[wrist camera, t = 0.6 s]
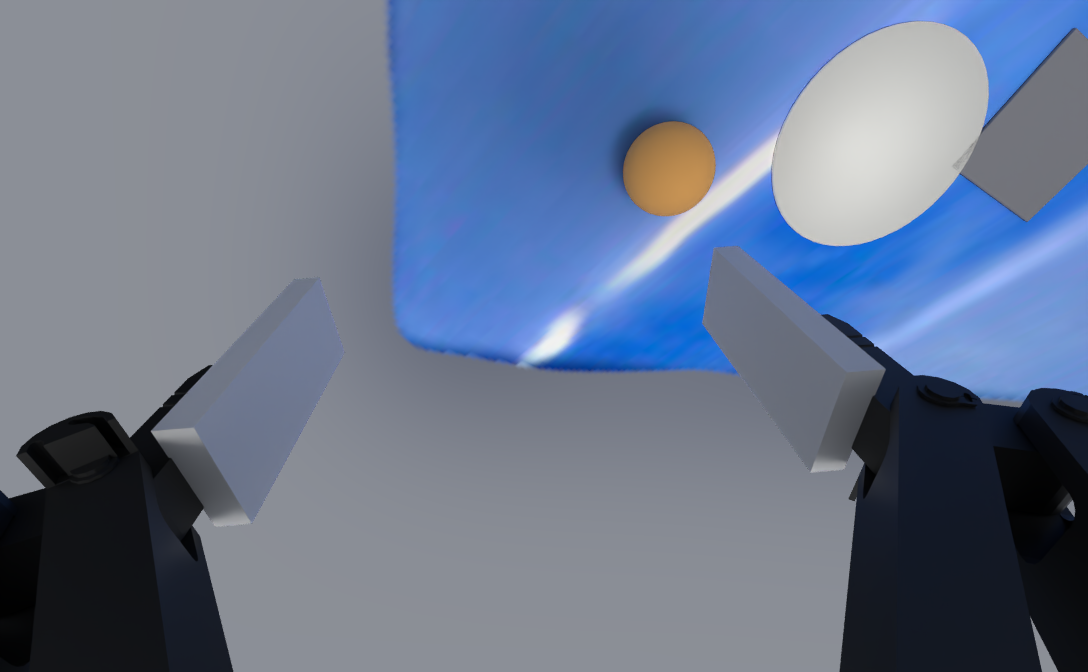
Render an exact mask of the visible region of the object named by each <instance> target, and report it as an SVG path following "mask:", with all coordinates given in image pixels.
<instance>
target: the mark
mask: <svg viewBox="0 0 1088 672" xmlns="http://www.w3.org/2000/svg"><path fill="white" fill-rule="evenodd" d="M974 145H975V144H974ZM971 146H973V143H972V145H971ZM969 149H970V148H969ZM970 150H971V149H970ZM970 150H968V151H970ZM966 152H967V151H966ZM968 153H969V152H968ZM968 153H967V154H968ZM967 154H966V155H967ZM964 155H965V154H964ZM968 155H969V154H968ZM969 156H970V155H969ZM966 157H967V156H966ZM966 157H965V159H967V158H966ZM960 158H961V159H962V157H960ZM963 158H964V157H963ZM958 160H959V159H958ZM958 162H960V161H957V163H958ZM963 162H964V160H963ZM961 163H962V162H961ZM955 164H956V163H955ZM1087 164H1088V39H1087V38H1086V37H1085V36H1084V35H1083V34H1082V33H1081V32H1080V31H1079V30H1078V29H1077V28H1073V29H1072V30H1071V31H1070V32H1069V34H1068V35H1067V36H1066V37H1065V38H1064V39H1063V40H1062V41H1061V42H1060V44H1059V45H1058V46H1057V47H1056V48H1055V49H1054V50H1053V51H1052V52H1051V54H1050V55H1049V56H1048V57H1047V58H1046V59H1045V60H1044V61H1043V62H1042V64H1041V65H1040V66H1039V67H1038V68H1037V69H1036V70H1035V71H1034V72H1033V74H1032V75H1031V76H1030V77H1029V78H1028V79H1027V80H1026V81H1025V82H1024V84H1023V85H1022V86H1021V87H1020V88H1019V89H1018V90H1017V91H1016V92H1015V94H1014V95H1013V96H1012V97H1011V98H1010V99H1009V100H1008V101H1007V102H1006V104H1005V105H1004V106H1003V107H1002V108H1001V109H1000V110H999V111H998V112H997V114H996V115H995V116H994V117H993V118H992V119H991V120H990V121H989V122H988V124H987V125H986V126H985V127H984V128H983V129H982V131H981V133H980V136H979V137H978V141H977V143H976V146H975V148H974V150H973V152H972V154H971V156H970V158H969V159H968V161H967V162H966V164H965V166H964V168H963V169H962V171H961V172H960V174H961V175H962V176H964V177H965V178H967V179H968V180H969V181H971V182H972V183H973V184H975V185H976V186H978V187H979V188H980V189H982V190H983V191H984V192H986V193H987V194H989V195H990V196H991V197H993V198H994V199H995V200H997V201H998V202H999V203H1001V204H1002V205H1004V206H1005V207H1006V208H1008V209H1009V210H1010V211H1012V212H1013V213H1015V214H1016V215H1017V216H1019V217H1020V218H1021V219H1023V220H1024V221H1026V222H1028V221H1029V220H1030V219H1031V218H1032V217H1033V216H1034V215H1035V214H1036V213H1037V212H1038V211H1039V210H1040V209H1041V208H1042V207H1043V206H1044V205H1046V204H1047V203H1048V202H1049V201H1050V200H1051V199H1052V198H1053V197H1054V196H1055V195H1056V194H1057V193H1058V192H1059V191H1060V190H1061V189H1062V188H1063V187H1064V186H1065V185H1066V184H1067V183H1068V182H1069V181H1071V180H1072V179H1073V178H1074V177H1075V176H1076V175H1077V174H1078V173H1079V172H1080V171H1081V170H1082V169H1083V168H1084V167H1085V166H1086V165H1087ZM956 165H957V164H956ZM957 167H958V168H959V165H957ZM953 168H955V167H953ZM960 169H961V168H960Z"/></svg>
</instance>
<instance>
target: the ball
mask: <svg viewBox="0 0 1088 672" xmlns="http://www.w3.org/2000/svg"><path fill="white" fill-rule="evenodd" d="M715 167H716V164H715V155H714V151H713V148H712V146H711V144H710V142H709V140H708V139H707V137H706V136H705V135H704V134H703V133H702V132H701V131H700V130H698V129H697V128H696V127H694V126H692V125H690V124H687V123H684V122H678V121H669V122H663V123H659V124H656V125H654V126H652V127H650V128H648V129H647V130H645V131H644V132H643V133H641V134H640V135H639V136H638V137H637V138H636V139H635V141H634V142H633V143H632V145H631V146H630V148H629V150H628V152H627V155H626V157H625V161H624V166H623V180H624V185H625V188H626V191H627V193H628V195H629V196H630V198H631V200H632V201H633V202H634V203H635V204H636V205H637V206H638V207H639V208H641V209H642V210H644V211H645V212H648V213H650V214H653V215H657V216H673V215H678V214H681V213H683V212H686V211H688V210H689V209H691V208H692V207H694V206H695V205H696V204H698V203H699V202H700V201H701V200H702V199H703V197H704V196H705V195H706V193H707V192H708V190H709V188H710V186H711V184H712V182H713V178H714V174H715Z"/></svg>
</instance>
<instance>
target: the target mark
mask: <svg viewBox="0 0 1088 672" xmlns="http://www.w3.org/2000/svg"><path fill="white" fill-rule="evenodd" d="M988 97H989V92H988V77H987V72H986V67H985V65H984V62H983V59H982V56H981V55H980V53H979V51H978V50H977V48H976V46H975V45H974V44H973V43H972V42H971V41H970V40H969V39H968V38H967V37H966V36H965V35H964V34H962V33H961V32H959V31H958V30H956V29H954V28H952V27H949V26H947V25H945V24H940V23H935V22H923V21H914V22H907V23H900V24H896V25H892V26H889V27H885V28H882V29H880V30H877V31H875V32H873V33H870V34H868V35H866V36H864V37H862V38H861V39H859V40H857V41H855V42H854V43H852V44H851V45H849V46H848V47H846V48H845V49H844V50H842V51H841V52H839V53H838V54H837V55H836V56H835V57H833V58H832V59H831V60H830V61H829V62H828V63H827V64H825V65H824V66H823V67H822V68H821V69H820V71H819V72H818V73H817V74H816V75H815V76H814V77H813V78H812V79H811V80H810V82H809V83H808V84H807V85H806V87H805V88H804V89H803V91H802V92H801V93H800V95H799V96H798V98H797V100H796V101H795V103H794V104H793V106H792V107H791V109H790V111H789V113H788V115H787V117H786V119H785V121H784V123H783V126H782V128H781V131H780V134H779V136H778V139H777V143H776V147H775V151H774V155H773V162H772V188H773V194H774V198H775V201H776V205H777V207H778V209H779V211H780V213H781V215H782V217H783V218H784V219H785V221H786V222H787V224H788V225H789V226H790V227H791V228H792V229H793V230H794V231H796V232H797V233H799V234H800V235H802V236H803V237H805V238H807V239H809V240H811V241H813V242H817V243H820V244H824V245H832V246H849V245H856V244H861V243H865V242H869V241H873V240H875V239H878V238H881V237H884V236H886V235H888V234H890V233H892V232H894V231H896V230H898V229H900V228H901V227H903V226H905V225H906V224H908V223H909V222H911V221H912V220H914V219H915V218H916V217H918V216H919V215H921V214H922V213H923V212H924V211H925V210H927V209H928V208H929V207H930V206H931V205H932V204H933V203H934V202H935V201H936V200H937V199H938V198H939V197H940V196H941V195H942V194H943V193H944V192H945V191H946V190H947V189H948V188H949V186H950V185H951V184H952V183H953V182H954V180H955V179H956V178H957V176H958V175H959V173H960V172H961V171H962V169H963V168H964V166H965V164H966V162H967V161H968V159H969V158H970V156H971V154H972V152H973V150H974V148H975V146H976V143H977V141H978V137H979V136H980V133H981V131H982V128H983V125H984V121H985V117H986V112H987V105H988ZM972 143H973V146H971V145H972ZM974 144H975V145H974ZM969 148H970V149H971V150H970V149H969ZM968 150H970V151H968ZM966 151H967V152H966ZM968 152H969V153H968ZM967 153H968V154H969V155H970V156H969V155H968V154H967ZM964 154H965V155H964ZM966 154H967V155H966ZM966 156H967V157H966ZM960 157H962V159H961V158H960ZM963 157H964V158H963ZM965 157H966V158H967V159H965ZM958 159H959V160H958ZM963 160H964V162H963ZM957 161H960V162H958V163H957ZM961 162H962V163H961ZM955 163H956V164H957V165H959V168H958V167H957V165H956V164H955ZM953 167H955V168H953ZM960 168H961V169H960Z"/></svg>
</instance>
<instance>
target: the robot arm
mask: <svg viewBox="0 0 1088 672" xmlns="http://www.w3.org/2000/svg"><path fill="white" fill-rule="evenodd" d="M702 324H703V325H704V327H705V328H706V329H707V331H708V332H709V333H710V335H711V336H712V338H713V339H714V340H715V342H716V343H717V344H718V346H719V347H720V349H721V350H722V351H723V353H724V354H725V356H726V357H727V358H728V360H729V361H730V362H731V364H732V365H733V367H734V368H735V369H736V371H737V372H738V373H739V375H740V376H741V378H742V379H743V380H744V382H745V383H746V384H747V386H748V387H749V389H750V390H751V391H752V393H753V394H754V395H755V397H756V398H757V400H758V401H759V402H760V404H761V405H762V406H763V408H764V409H765V411H766V412H767V413H768V415H769V416H770V418H771V419H772V420H773V422H774V423H775V424H776V426H777V427H778V429H779V430H780V431H781V433H782V434H783V435H784V437H785V438H786V440H787V441H788V442H789V444H790V445H791V446H792V448H793V449H794V451H795V452H796V453H797V455H798V456H799V458H800V459H801V460H802V462H803V463H804V464H805V466H806V467H807V469H808V470H809V471H810V472H811V473H812V472H823V471H833V470H844V468H845V466H846V464H847V461H848V459H849V456H850V454H851V451H852V449H853V450H854V451H855V452H856V454H857V455H858V456H859V457H860V458H861V459H862V460H863V461H864V465H863V468H862V470H861V472H860V474H859V477H858V479H857V481H856V483H855V486H854V488H853V490H852V492H851V494H850V497H849V499H850V500H852V501H855V499H856V497H857V502H856V512H855V521H854V531H853V542H852V551H851V562H850V571H849V582H848V592H847V602H846V612H845V622H844V632H843V643H842V652H841V663H840V672H1042V670H1041V665H1040V660H1039V656H1038V651H1037V647H1036V642H1035V637H1034V633H1033V628H1032V624H1031V619H1032V621H1033V623H1034V625H1035V627H1036V629H1037V631H1038V633H1039V635H1040V636H1041V639H1042V640H1043V642H1044V644H1045V646H1046V648H1047V650H1048V652H1049V654H1050V656H1051V658H1052V660H1053V662H1054V664H1055V666H1056V668H1057V670H1058V672H1088V396H1087V395H1085V396H1084V395H1083V394H1081V393H1077V392H1073V391H1065V390H1060V389H1051V388H1040V389H1036V390H1032V391H1031V392H1030V393H1029V395H1028V396H1027V398H1026V399H1025V401H1024V402H1023V404H1022V406H1021V407H1020V408H1018V407H1009V406H1001V405H992V404H983V403H982V401H981V400H980V398H979V397H978V396H976V395H975V394H974V393H972V392H971V391H970V390H968V389H966V388H964V387H962V386H960V385H958V384H956V383H954V382H951V381H948V380H945V379H942V378H938V377H932V376H925V375H918V376H914V375H912V374H911V373H910V372H909V371H907V370H906V369H905V368H904V367H902V366H901V365H900V364H898V363H897V362H896V361H895V360H893V359H892V358H891V357H890V356H888V355H887V354H886V353H885V352H883V351H882V350H881V349H879V348H878V347H874V344H873V343H872V342H871V341H869V340H868V339H867V338H866V337H862V334H861V333H859V332H858V331H857V330H855V329H854V328H853V327H852V326H850V325H849V324H848V323H846V322H844V321H841V320H839V319H837V318H835V317H833V316H830V315H828V314H825V315H820V314H819V313H818V312H817V311H815V310H814V309H813V308H812V307H811V306H809V305H808V304H807V303H806V302H805V301H803V300H802V299H801V298H800V297H799V296H797V295H796V294H795V293H794V292H793V291H791V290H790V289H789V288H788V287H787V286H785V285H784V284H783V283H782V282H781V281H779V280H778V279H777V278H776V277H775V276H773V275H772V274H771V273H770V272H769V271H767V270H766V269H765V268H764V267H763V266H761V265H760V264H759V263H758V262H757V261H755V260H754V259H753V258H752V257H750V256H749V255H748V254H747V253H746V252H744V251H743V250H742V249H741V248H740V247H738V246H731V247H717V248H714V250H713V257H712V263H711V270H710V277H709V283H708V290H707V297H706V303H705V310H704V317H703V323H702ZM343 354H344V349H343V346H342V343H341V340H340V337H339V334H338V331H337V328H336V325H335V322H334V319H333V316H332V314H331V310H330V307H329V304H328V301H327V298H326V295H325V292H324V289H323V287H322V284H321V280H320V278H318V277H317V278H303V279H294V280H293V281H292V282H291V283H290V284H289V285H288V286H287V287H286V288H285V289H284V290H283V291H282V293H281V294H280V295H279V296H278V297H277V298H276V299H275V300H274V301H273V302H272V303H271V304H270V305H269V306H268V307H267V309H265V311H264V312H263V313H262V314H261V315H260V316H259V317H258V318H257V319H256V320H255V321H254V322H253V323H252V324H251V326H249V328H248V329H247V330H246V331H245V332H244V333H243V334H242V335H241V336H240V337H239V338H238V339H237V340H236V341H235V342H234V343H233V344H232V346H231V347H230V348H229V349H228V350H227V351H226V352H225V353H224V354H223V355H222V356H221V357H220V358H219V359H218V361H216V363H215V364H214V365H209V366H207V367H205V368H204V369H202V370H201V371H199V372H198V373H196V374H194V375H193V376H191V377H190V378H188V379H187V380H186V381H185V382H184V383H183V384H182V385H181V386H180V387H179V388H178V389H177V390H176V391H175V395H171V397H170V398H169V399H168V400H167V401H166V402H165V403H164V404H163V407H160V408H159V409H158V410H157V411H156V412H155V413H154V414H153V415H152V416H151V417H150V418H149V419H148V420H147V421H146V422H145V423H144V424H143V425H142V426H141V427H140V428H139V429H138V430H137V431H136V432H135V433H134V434H133V435H132V436H131V437H130V438H129V437H128V435H127V434H126V432H125V431H124V429H123V428H122V427H121V425H120V424H119V422H118V421H117V420H116V418H115V417H114V416H113V414H112V413H109V412H104V411H98V412H90V413H89V412H88V413H84V414H80V415H77V416H73V417H70V418H68V419H65V420H63V421H60V422H58V423H56V424H54V425H51V426H49V427H48V428H46V429H45V430H43V431H41V432H39V433H38V434H36V435H35V436H33V437H32V438H31V439H30V440H28V441H27V442H26V443H25V444H24V445H23V446H22V447H21V448H20V450H19V452H18V454H17V455H16V456H17V457H18V458H19V459H20V460H21V461H22V463H23V464H24V465H25V466H26V467H27V468H28V469H29V470H30V471H31V472H32V474H33V475H34V476H35V477H36V478H37V479H38V480H39V481H40V482H41V483H42V484H43V486H44V487H45V488H44V489H41V490H37V491H34V492H30V493H27V494H23V495H20V496H16V497H13V498H8V497H6V495H5V494H4V493H2V491H0V672H233V668H232V664H231V660H230V656H229V652H228V648H227V644H226V640H225V636H224V632H223V628H222V624H221V619H220V616H219V611H218V607H217V603H216V599H215V595H214V591H213V587H212V583H211V580H210V575H209V571H208V567H207V563H206V559H205V555H204V551H203V547H202V543H201V538H200V536H199V534H198V533H197V531H196V530H195V529H194V527H193V526H192V525H193V523H194V522H195V520H196V519H197V517H198V516H199V514H200V513H201V511H202V510H203V509H204V511H205V512H206V514H207V515H208V517H209V518H210V520H211V521H212V523H213V524H214V526H215V527H219V526H230V525H242V524H251V523H252V522H253V521H254V519H255V517H256V515H257V513H258V511H259V509H260V508H261V506H262V504H263V502H264V500H265V498H266V496H267V495H268V493H269V491H270V489H271V487H272V485H273V484H274V482H275V480H276V478H277V476H278V474H279V473H280V471H281V469H282V467H283V465H284V463H285V461H286V460H287V458H288V456H289V454H290V452H291V450H292V449H293V447H294V445H295V443H296V441H297V439H298V438H299V436H300V434H301V432H302V430H303V428H304V426H305V424H306V423H307V421H308V419H309V417H310V415H311V414H312V412H313V410H314V408H315V406H316V404H317V402H318V401H319V399H320V396H321V395H322V393H323V391H324V390H325V388H326V386H327V384H328V382H329V380H330V378H331V376H332V375H333V373H334V371H335V369H336V367H337V366H338V364H339V362H340V360H341V358H342V356H343ZM1072 500H1073V502H1074V506H1075V517H1074V516H1073V515H1072V514H1071V512H1070V511H1069V509H1068V508H1067V505H1068V504H1069V503H1070V502H1071V501H1072ZM1030 617H1031V619H1030Z"/></svg>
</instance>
